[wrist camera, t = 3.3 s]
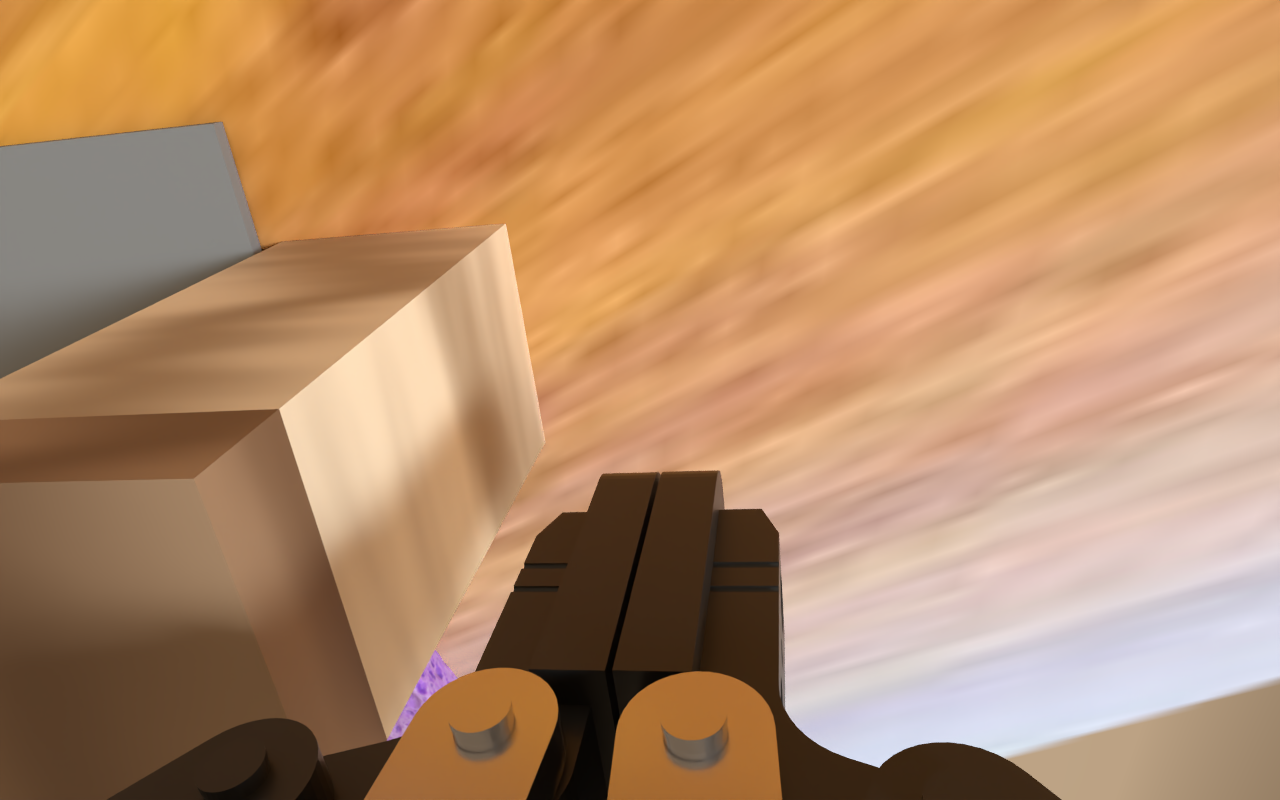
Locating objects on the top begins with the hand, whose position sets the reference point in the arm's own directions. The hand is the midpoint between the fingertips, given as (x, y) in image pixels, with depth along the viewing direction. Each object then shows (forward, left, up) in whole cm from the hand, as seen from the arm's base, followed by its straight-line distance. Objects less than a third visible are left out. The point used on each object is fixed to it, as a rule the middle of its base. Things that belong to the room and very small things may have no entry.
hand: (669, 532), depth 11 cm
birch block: (+6, 0, -7) cm, 10 cm away
